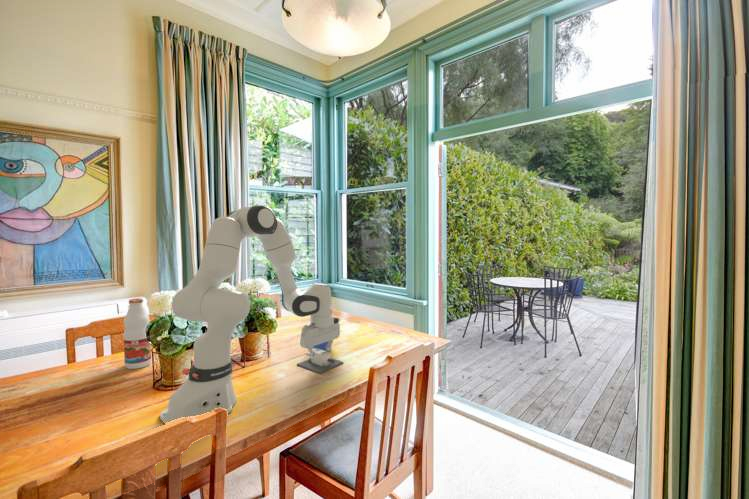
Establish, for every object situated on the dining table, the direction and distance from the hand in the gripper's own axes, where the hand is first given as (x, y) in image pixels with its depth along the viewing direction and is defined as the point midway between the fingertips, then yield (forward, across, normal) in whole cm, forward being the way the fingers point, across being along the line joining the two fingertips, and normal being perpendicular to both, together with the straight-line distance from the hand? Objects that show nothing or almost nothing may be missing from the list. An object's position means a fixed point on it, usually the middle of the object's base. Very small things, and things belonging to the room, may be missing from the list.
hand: (320, 353), depth 154 cm
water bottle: (+5, +14, +14) cm, 21 cm away
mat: (+5, +1, +1) cm, 5 cm away
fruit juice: (+6, -48, +59) cm, 76 cm away
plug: (+5, +1, +1) cm, 5 cm away
